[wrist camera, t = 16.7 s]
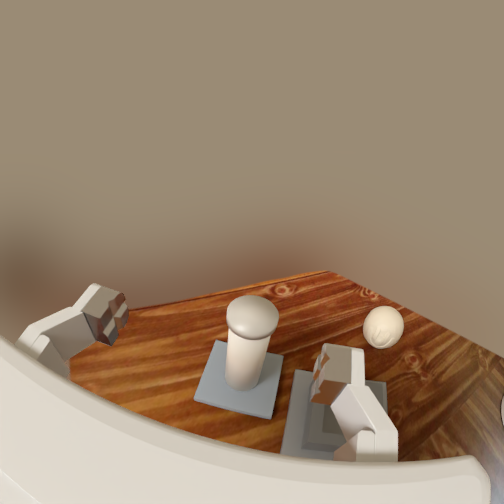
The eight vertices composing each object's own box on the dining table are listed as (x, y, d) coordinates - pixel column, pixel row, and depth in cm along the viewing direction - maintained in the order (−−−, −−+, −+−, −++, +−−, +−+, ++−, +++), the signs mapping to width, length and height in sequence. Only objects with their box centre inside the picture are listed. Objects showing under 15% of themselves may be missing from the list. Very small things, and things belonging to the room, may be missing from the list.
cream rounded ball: (350, 346, 43) (366, 319, 39) (364, 319, 48) (378, 292, 44) (386, 364, 40) (405, 339, 36) (396, 335, 45) (413, 309, 42)
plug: (264, 365, 38) (282, 301, 31) (257, 397, 34) (274, 339, 26) (227, 357, 39) (234, 290, 31) (217, 388, 35) (220, 326, 27)
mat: (282, 358, 40) (283, 355, 40) (270, 419, 32) (271, 417, 32) (215, 343, 42) (216, 339, 41) (194, 400, 33) (193, 397, 33)
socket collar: (383, 385, 37) (395, 371, 35) (383, 471, 26) (399, 463, 23) (294, 372, 39) (300, 357, 36) (277, 463, 27) (284, 456, 25)
